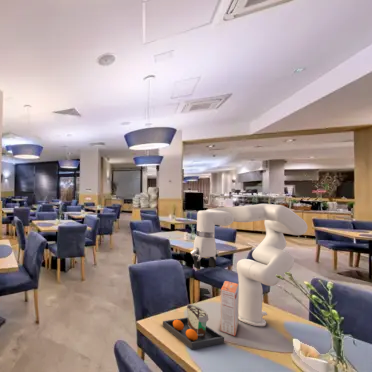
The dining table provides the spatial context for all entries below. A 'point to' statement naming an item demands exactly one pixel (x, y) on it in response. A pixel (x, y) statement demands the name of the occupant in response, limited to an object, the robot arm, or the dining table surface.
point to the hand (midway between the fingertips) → (204, 267)
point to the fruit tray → (207, 340)
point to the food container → (197, 319)
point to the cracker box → (229, 307)
